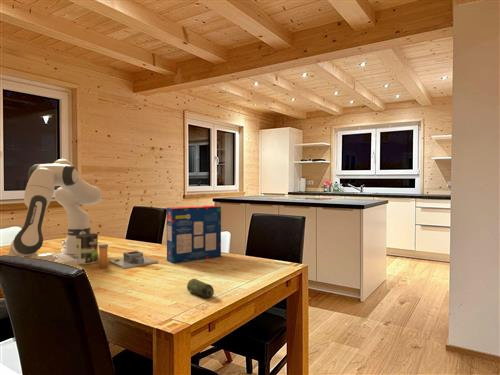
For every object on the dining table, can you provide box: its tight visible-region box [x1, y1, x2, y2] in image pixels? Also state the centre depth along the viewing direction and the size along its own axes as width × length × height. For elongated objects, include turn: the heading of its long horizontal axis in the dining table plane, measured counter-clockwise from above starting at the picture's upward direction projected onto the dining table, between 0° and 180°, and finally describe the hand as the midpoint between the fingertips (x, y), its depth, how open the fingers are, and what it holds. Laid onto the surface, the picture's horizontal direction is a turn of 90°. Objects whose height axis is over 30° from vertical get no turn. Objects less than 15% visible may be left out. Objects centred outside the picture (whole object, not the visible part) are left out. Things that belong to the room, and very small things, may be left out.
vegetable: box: [186, 278, 215, 299], centre depth 127 cm, size 14×5×5 cm, turn 42°
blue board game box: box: [166, 205, 222, 264], centre depth 186 cm, size 28×8×28 cm, turn 124°
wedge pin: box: [98, 243, 109, 270], centre depth 167 cm, size 4×4×11 cm
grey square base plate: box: [108, 250, 159, 270], centre depth 177 cm, size 18×18×5 cm
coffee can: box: [75, 233, 99, 265], centre depth 178 cm, size 10×10×14 cm
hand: (81, 258), depth 160 cm, fingers open, 8 cm apart
